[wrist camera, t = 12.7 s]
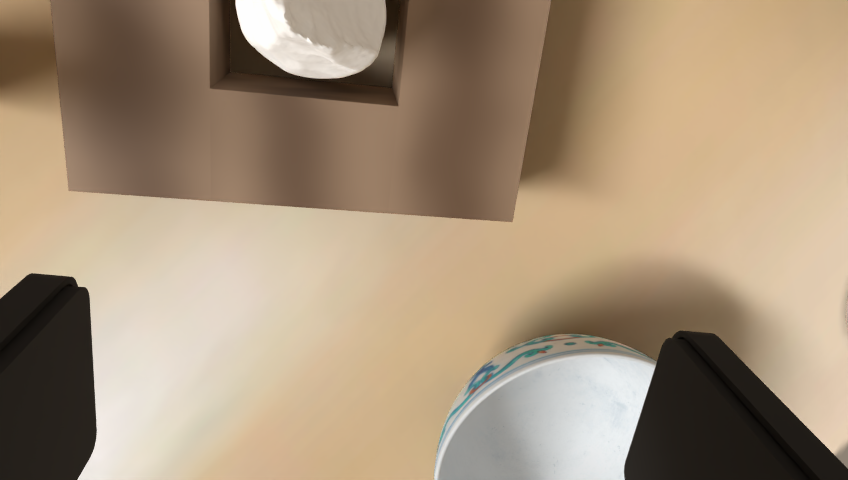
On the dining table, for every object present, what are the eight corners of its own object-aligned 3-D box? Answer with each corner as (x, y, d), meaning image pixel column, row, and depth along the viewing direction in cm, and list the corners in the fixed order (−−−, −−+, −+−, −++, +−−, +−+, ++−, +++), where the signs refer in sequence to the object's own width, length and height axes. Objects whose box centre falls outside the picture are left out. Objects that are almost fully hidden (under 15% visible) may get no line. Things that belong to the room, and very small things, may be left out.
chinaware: (595, 496, 45) (641, 593, 38) (390, 460, 42) (399, 559, 35) (689, 314, 40) (762, 387, 33) (464, 257, 37) (491, 325, 30)
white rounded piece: (436, 13, 20) (317, 141, 21) (405, -1, 31) (327, 83, 32) (288, -144, 18) (165, 7, 19) (310, -100, 29) (231, -6, 30)
